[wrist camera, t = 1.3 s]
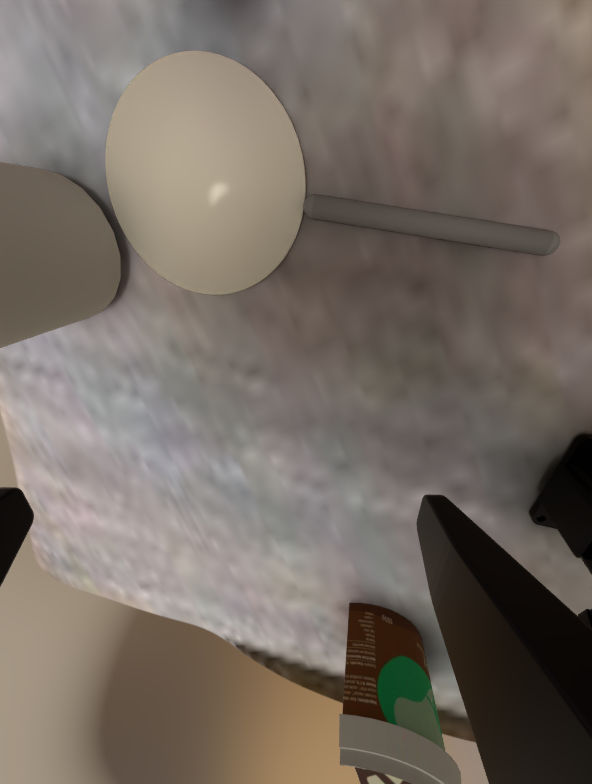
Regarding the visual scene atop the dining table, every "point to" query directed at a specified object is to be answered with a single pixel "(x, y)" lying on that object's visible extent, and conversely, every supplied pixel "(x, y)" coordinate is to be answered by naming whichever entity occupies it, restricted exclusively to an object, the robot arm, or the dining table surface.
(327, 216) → the thin grey rod
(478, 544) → the robot arm
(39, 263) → the can
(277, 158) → the disc
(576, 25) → the dining table surface
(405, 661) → the food container
